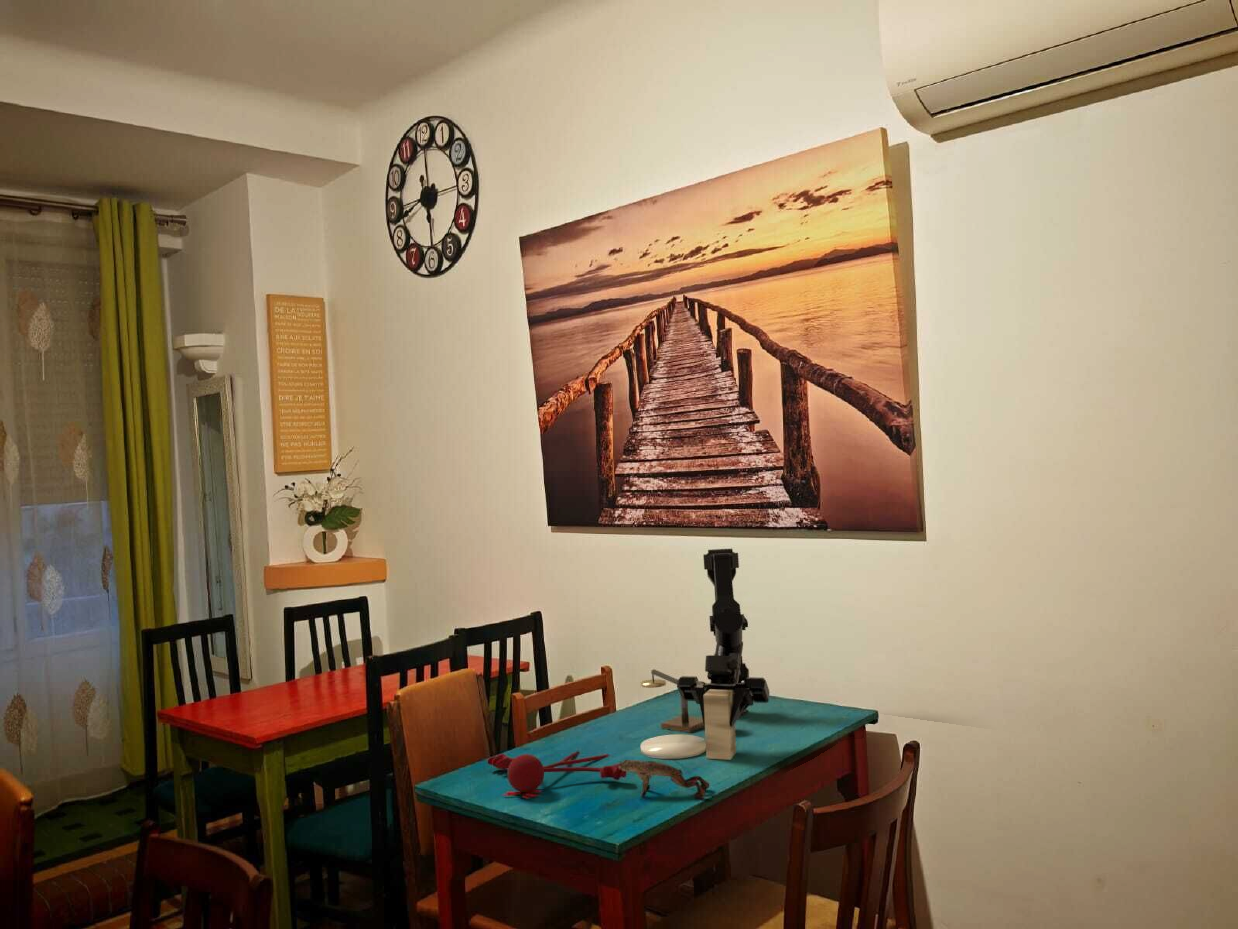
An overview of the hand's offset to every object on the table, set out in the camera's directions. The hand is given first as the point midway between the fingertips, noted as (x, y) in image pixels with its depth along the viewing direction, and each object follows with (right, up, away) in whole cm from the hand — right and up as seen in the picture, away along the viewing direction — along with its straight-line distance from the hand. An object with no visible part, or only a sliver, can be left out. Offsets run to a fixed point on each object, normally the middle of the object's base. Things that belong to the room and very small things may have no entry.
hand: (717, 725), depth 210 cm
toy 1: (-32, -9, -5) cm, 34 cm away
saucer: (-9, -7, +8) cm, 14 cm away
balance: (-5, -7, +26) cm, 27 cm away
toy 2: (-12, -8, -20) cm, 25 cm away
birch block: (+1, -7, +1) cm, 7 cm away
